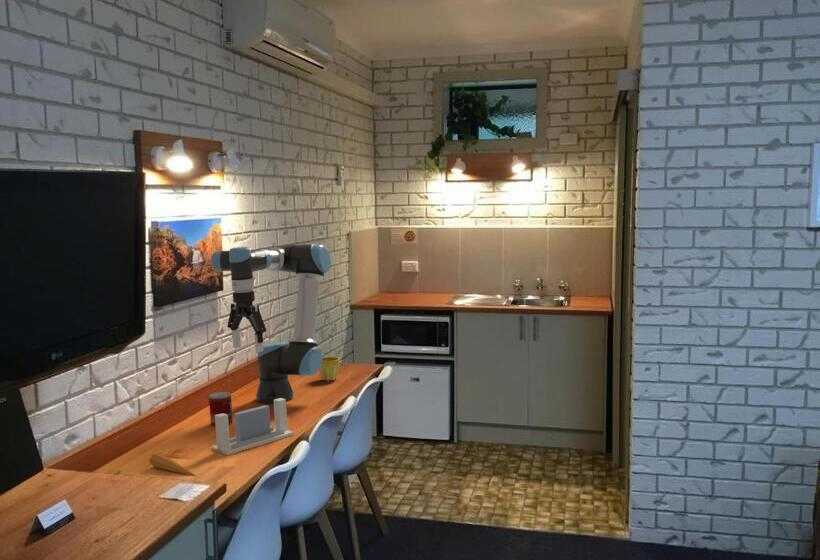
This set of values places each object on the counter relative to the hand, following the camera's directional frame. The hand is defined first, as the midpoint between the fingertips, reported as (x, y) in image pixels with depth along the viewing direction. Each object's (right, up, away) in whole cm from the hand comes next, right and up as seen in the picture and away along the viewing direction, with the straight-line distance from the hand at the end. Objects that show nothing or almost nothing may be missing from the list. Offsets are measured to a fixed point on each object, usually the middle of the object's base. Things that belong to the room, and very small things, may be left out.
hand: (248, 349), depth 258 cm
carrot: (-13, -33, -40) cm, 54 cm away
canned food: (-12, -28, +8) cm, 32 cm away
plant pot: (+21, -21, +71) cm, 77 cm away
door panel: (+5, -29, -15) cm, 33 cm away
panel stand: (+5, -30, -15) cm, 34 cm away
